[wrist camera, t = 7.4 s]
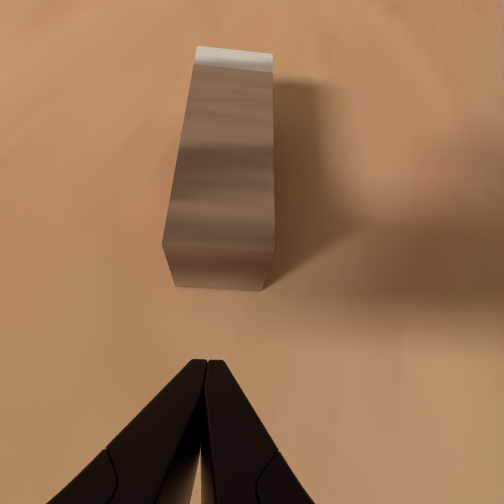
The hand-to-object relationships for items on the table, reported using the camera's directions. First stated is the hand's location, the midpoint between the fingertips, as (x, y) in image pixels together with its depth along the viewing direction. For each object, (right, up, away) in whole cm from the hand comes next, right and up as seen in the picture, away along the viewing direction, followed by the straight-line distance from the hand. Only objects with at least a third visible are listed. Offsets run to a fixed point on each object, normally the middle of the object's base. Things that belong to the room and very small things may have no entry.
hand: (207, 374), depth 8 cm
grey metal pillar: (0, +2, +8) cm, 8 cm away
